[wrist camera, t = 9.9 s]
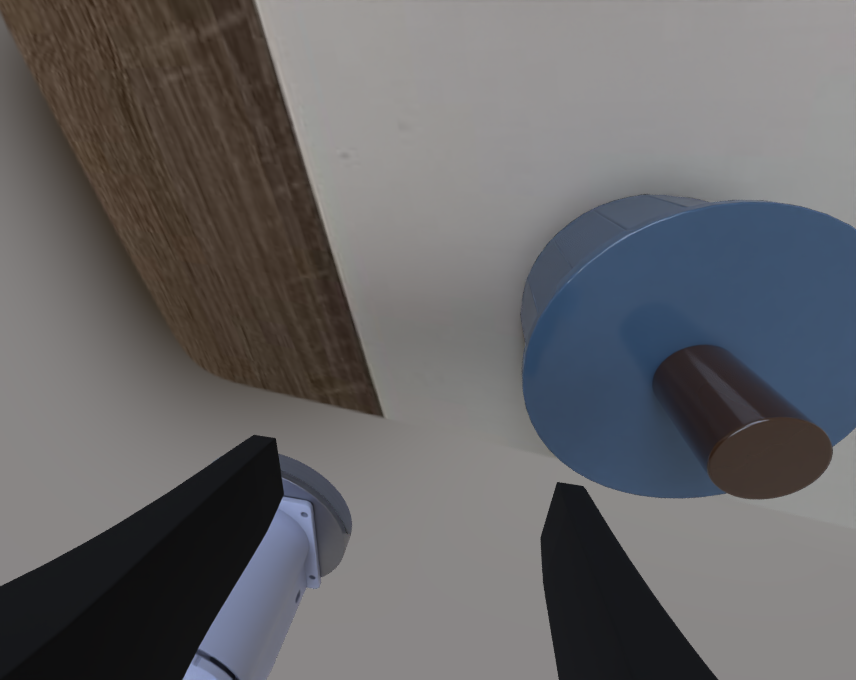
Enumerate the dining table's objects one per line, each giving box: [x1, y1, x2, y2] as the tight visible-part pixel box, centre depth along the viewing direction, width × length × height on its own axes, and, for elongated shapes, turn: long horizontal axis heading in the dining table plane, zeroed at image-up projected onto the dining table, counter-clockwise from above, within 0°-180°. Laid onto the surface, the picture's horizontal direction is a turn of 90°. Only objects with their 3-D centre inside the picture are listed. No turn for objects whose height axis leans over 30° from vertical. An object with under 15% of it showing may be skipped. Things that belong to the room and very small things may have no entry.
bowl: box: [520, 194, 710, 345], centre depth 15 cm, size 9×9×6 cm
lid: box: [522, 200, 856, 499], centre depth 11 cm, size 10×10×5 cm
